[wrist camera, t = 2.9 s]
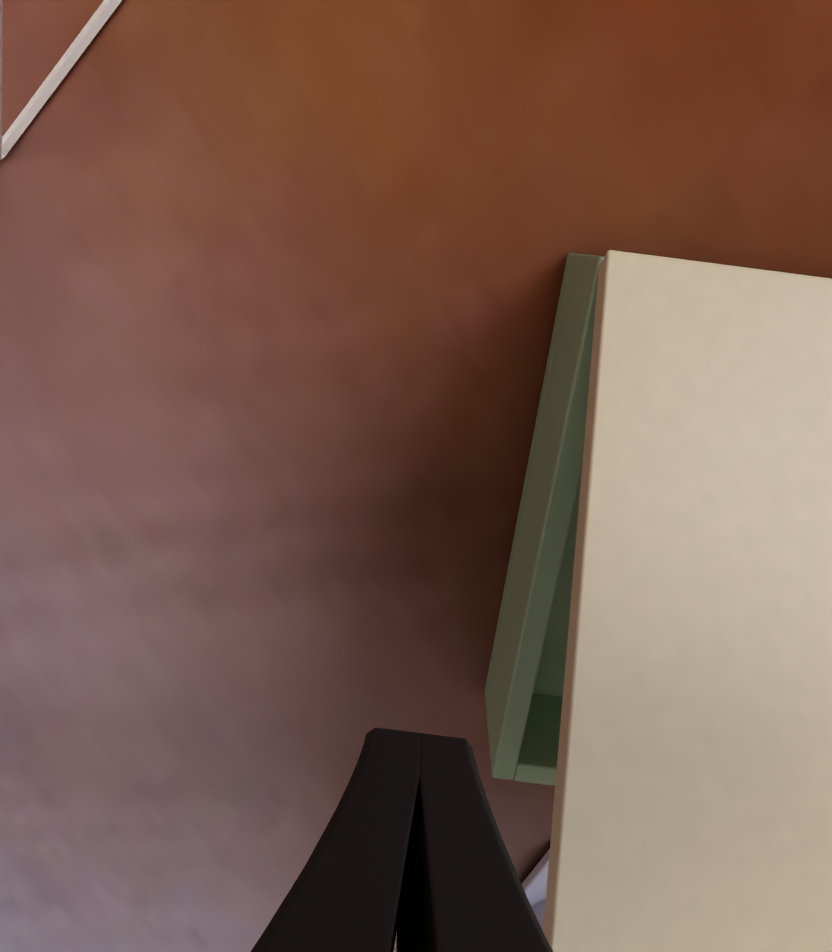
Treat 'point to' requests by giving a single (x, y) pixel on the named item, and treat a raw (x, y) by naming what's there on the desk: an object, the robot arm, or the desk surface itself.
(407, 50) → the desk surface
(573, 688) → the lunchbox lid
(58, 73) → the geometric polyhedron
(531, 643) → the lunchbox
